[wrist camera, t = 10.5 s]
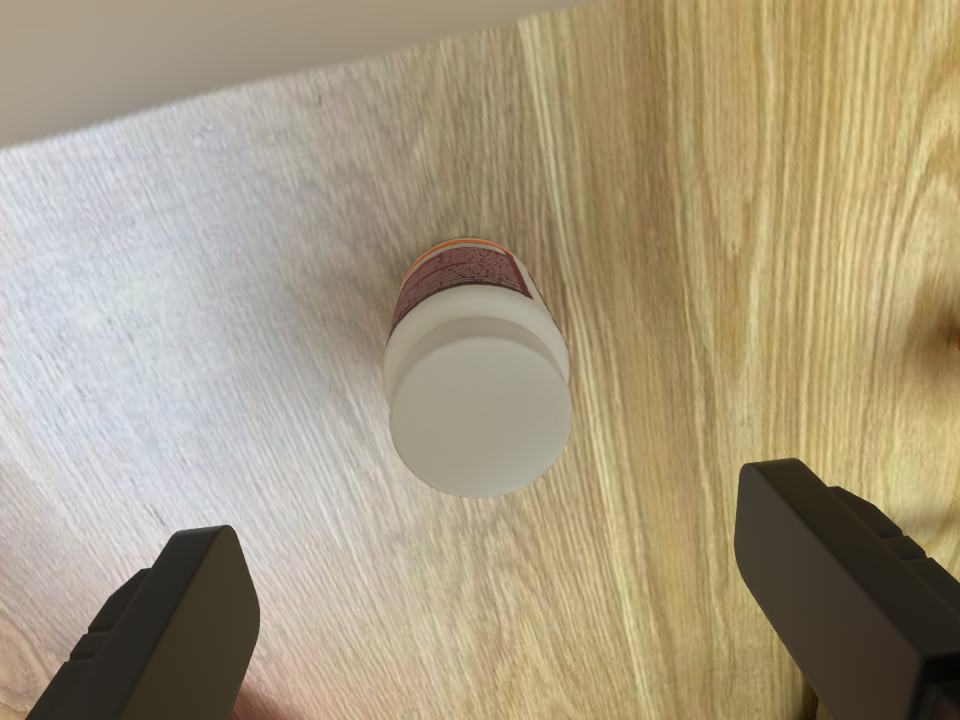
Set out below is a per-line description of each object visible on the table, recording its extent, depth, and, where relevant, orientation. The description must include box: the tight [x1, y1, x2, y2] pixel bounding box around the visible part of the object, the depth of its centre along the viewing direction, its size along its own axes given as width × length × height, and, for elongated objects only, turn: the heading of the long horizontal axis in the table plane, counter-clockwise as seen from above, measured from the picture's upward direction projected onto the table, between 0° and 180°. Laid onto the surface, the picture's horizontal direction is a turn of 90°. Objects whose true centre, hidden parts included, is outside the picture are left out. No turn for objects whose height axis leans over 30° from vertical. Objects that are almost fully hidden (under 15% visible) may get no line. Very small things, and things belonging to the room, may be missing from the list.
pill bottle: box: [382, 238, 573, 498], centre depth 17 cm, size 5×5×8 cm
